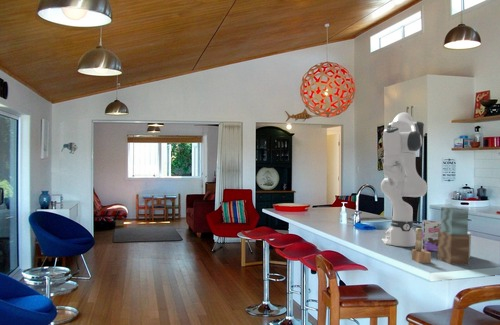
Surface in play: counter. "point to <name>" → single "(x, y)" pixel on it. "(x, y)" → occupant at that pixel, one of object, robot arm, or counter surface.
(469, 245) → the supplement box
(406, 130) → the robot arm
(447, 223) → the tower
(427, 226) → the candy box
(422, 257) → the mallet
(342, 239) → the counter surface
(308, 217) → the counter surface
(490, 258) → the counter surface
